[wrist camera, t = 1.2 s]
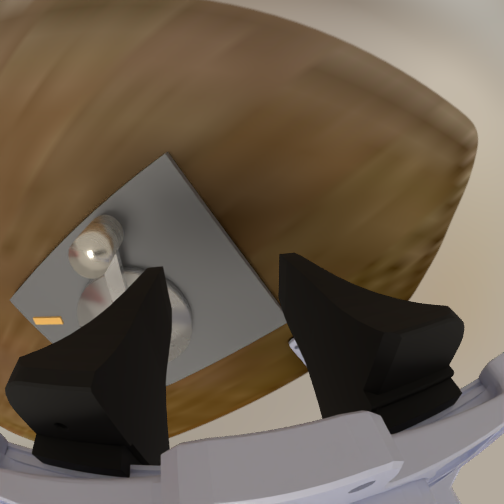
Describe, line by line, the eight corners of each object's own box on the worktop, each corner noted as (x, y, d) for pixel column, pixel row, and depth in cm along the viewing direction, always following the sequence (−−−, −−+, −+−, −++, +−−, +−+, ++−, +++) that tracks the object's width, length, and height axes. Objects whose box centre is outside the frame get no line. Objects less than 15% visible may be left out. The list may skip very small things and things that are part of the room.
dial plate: (285, 312, 25) (289, 322, 23) (130, 394, 27) (129, 404, 25) (167, 151, 17) (164, 154, 16) (15, 292, 19) (8, 301, 18)
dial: (199, 353, 23) (201, 396, 19) (102, 358, 22) (92, 398, 18) (174, 200, 18) (165, 227, 13) (51, 217, 16) (19, 246, 12)
